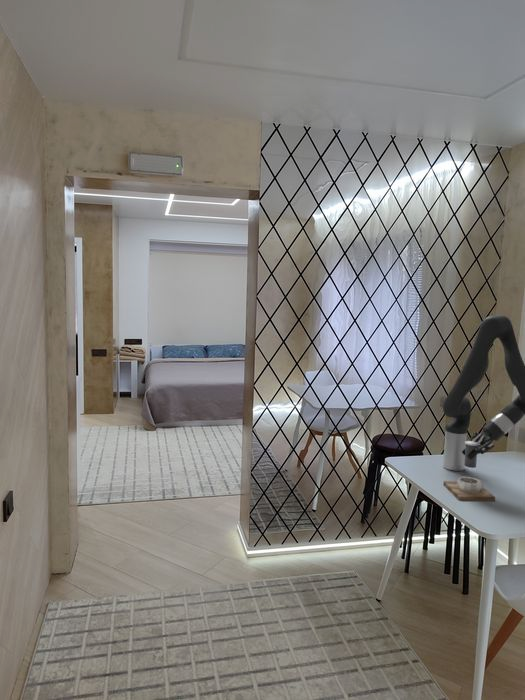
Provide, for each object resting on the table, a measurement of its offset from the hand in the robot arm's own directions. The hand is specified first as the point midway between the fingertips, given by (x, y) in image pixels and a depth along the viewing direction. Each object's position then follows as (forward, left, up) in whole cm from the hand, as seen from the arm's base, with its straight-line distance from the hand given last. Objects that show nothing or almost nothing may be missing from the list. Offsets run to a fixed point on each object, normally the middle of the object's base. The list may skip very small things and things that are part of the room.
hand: (466, 455), depth 200 cm
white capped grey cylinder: (0, +2, -4) cm, 5 cm away
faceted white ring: (0, +2, -14) cm, 14 cm away
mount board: (0, +2, -15) cm, 15 cm away
